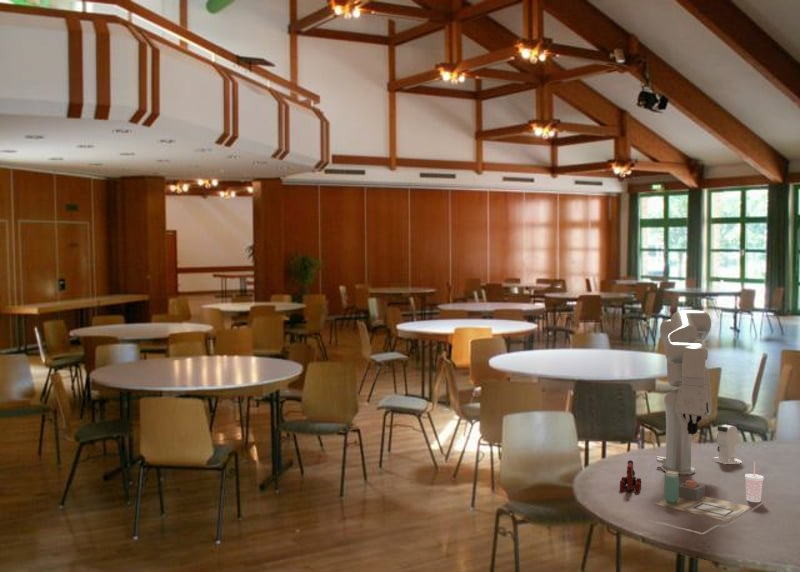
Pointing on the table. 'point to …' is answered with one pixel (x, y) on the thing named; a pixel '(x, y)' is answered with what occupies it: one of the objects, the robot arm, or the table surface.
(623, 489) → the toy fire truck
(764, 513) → the table surface
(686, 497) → the button housing
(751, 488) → the beverage cup
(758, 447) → the table surface
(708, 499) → the board
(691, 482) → the button
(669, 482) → the green and white block
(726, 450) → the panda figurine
